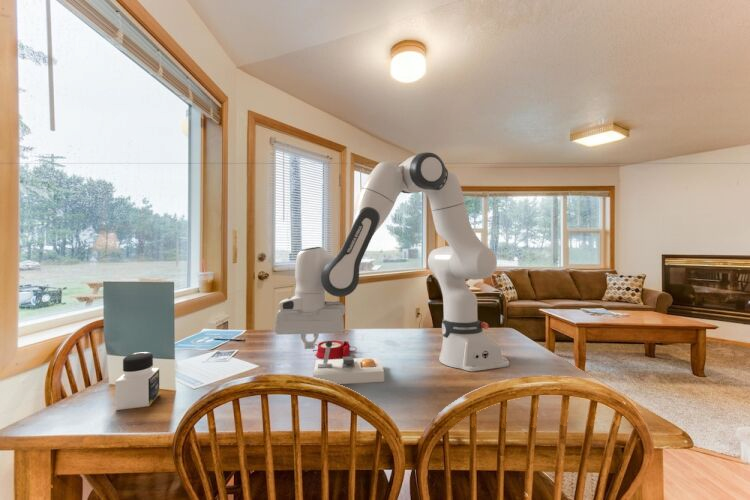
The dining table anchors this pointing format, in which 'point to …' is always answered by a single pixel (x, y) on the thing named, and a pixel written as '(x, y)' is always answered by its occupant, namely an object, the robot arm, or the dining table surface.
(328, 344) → the lever
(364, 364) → the button
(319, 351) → the alarm clock
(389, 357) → the dining table surface
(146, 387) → the medicine bottle
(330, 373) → the panel
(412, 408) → the dining table surface
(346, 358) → the rocker
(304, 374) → the dining table surface
